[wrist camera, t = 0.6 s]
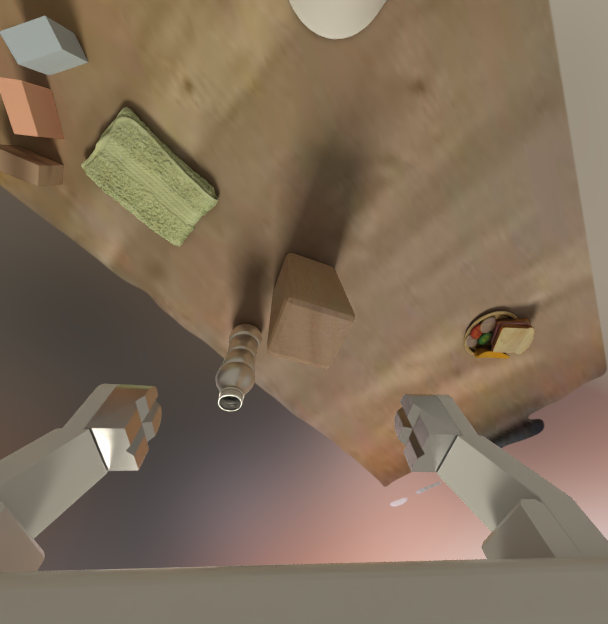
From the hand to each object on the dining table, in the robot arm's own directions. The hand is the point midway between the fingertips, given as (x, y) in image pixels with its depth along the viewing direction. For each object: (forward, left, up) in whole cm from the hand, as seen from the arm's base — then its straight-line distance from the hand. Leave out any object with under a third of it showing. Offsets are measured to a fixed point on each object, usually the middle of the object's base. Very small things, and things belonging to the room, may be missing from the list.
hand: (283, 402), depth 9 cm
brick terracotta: (-10, -36, -44) cm, 58 cm away
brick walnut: (-3, -39, -44) cm, 59 cm away
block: (+13, +4, -44) cm, 47 cm away
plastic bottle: (+26, -7, -44) cm, 52 cm away
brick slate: (-17, -32, -44) cm, 57 cm away
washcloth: (-2, -22, -45) cm, 50 cm away
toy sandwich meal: (+22, +49, -45) cm, 70 cm away
